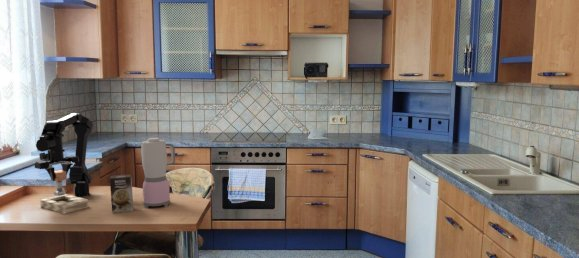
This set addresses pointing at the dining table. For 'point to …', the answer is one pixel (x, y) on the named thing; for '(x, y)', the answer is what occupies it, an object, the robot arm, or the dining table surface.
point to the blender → (156, 172)
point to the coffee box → (121, 193)
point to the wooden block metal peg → (60, 182)
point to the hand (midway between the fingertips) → (58, 179)
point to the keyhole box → (64, 203)
